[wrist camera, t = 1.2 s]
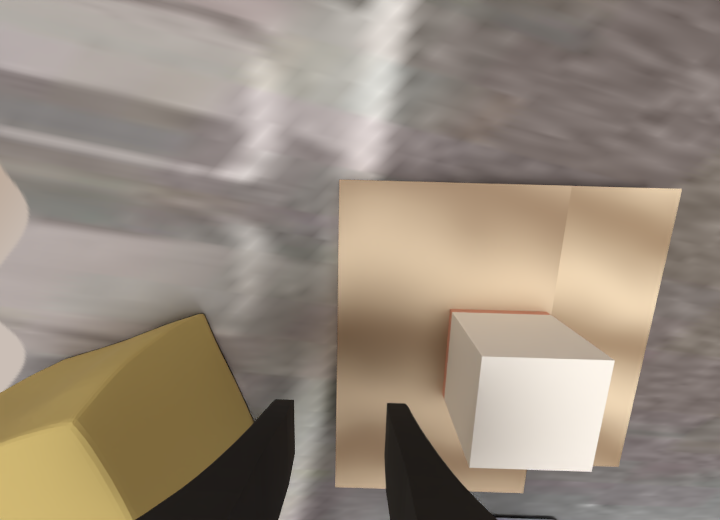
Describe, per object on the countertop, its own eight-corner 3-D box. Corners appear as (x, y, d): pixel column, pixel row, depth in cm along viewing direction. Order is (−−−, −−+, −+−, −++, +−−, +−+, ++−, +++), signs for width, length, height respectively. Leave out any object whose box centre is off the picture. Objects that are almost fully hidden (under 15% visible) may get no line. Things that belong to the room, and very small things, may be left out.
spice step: (596, 441, 22) (645, 496, 18) (340, 433, 22) (335, 487, 18) (648, 188, 19) (724, 190, 15) (344, 180, 19) (339, 179, 15)
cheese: (134, 487, 24) (-28, 702, 14) (55, 350, 21) (-204, 491, 12) (275, 446, 23) (209, 645, 13) (208, 299, 21) (68, 406, 11)
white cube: (533, 397, 17) (591, 471, 13) (442, 394, 17) (469, 467, 13) (546, 311, 16) (614, 360, 12) (449, 309, 16) (482, 356, 12)
